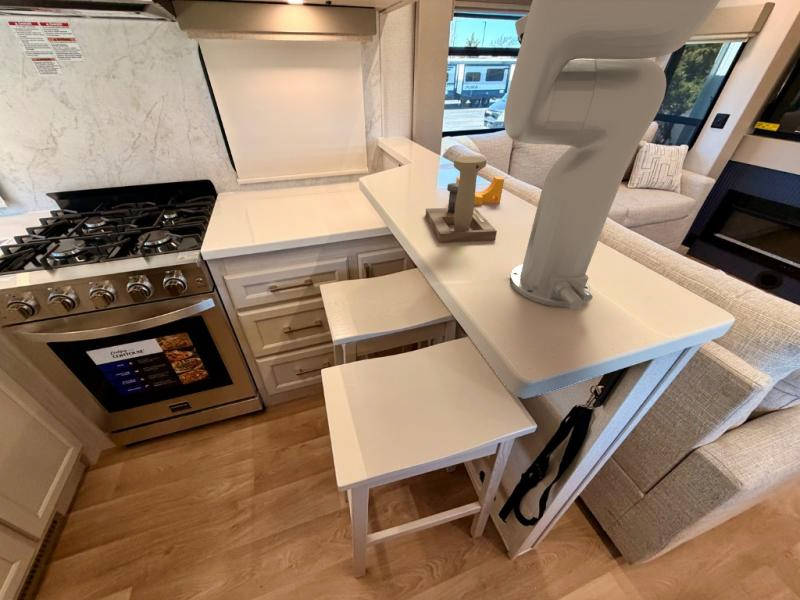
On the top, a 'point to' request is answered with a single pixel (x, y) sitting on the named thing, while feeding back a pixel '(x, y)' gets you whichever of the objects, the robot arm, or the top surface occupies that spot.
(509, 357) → the top surface
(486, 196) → the pipe clamp
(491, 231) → the plate
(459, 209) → the handle
